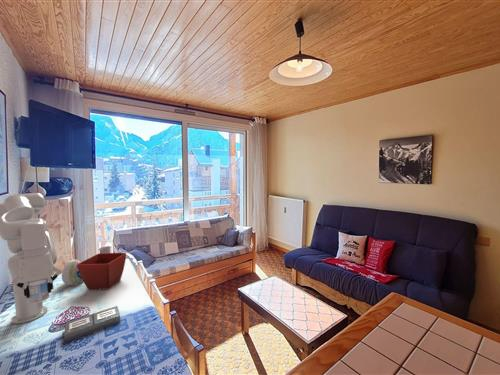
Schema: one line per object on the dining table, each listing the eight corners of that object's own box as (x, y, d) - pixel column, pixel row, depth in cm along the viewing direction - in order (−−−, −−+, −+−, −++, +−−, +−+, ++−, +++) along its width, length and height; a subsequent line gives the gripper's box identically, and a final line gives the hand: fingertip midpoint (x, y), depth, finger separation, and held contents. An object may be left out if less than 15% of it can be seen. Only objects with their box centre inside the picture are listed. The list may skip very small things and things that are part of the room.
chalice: (109, 270, 165) (107, 245, 164) (114, 272, 161) (112, 247, 160) (98, 274, 159) (96, 248, 157) (103, 276, 155) (101, 250, 154)
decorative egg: (76, 287, 141) (74, 263, 140) (57, 287, 142) (55, 263, 141) (91, 278, 153) (89, 256, 152) (73, 278, 154) (71, 256, 153)
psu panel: (64, 341, 94) (64, 333, 94) (66, 329, 102) (65, 321, 102) (120, 321, 106) (120, 314, 106) (117, 311, 114) (117, 305, 114)
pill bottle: (47, 294, 101) (45, 269, 100) (51, 298, 97) (48, 272, 96) (28, 300, 96) (26, 274, 95) (31, 305, 92) (28, 278, 91)
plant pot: (100, 277, 153) (98, 253, 152) (128, 277, 153) (126, 252, 151) (78, 292, 134) (75, 264, 133) (110, 292, 134) (107, 263, 132)
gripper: (2, 259, 87) (7, 305, 88) (62, 249, 97) (65, 290, 98) (7, 254, 93) (12, 297, 94) (63, 245, 103) (66, 284, 104)
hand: (39, 293), depth 96 cm, fingers closed on pill bottle, 6 cm apart
